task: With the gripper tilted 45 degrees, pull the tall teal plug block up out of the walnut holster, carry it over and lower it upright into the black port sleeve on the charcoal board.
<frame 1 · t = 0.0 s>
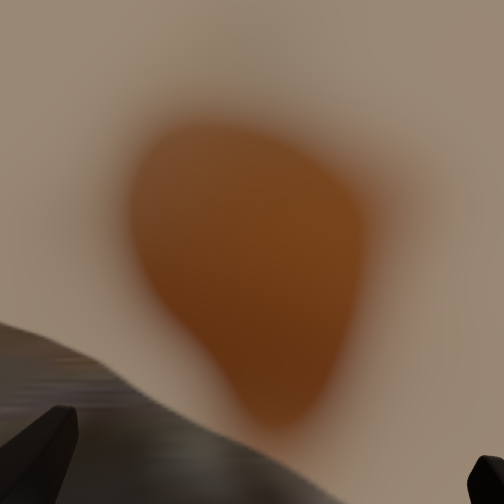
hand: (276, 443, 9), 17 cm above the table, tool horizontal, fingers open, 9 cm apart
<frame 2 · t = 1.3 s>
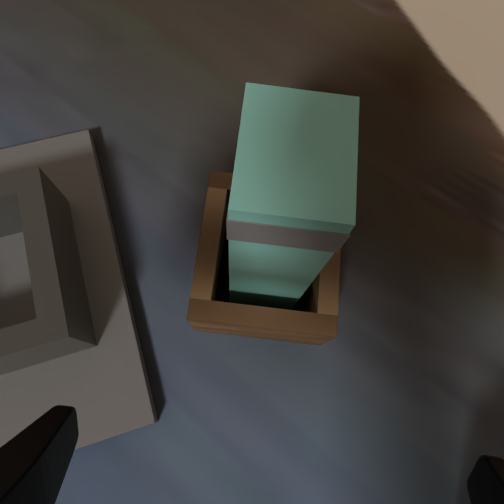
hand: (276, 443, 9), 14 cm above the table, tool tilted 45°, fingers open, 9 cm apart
holster: (264, 270, 24), on the table
port board: (17, 293, 23), on the table
plug: (275, 230, 18), in the holster
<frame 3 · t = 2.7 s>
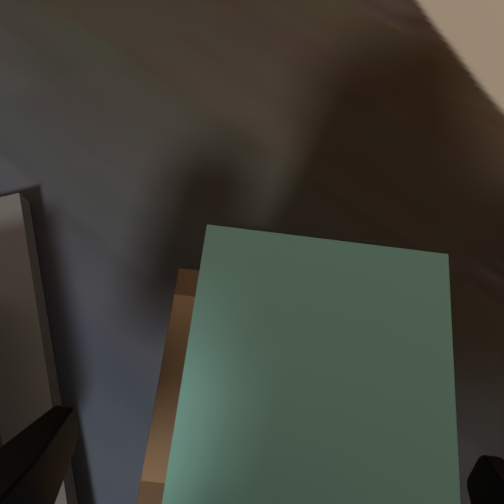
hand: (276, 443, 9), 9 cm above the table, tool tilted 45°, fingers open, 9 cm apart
holster: (257, 392, 18), on the table
plug: (271, 393, 11), in the holster
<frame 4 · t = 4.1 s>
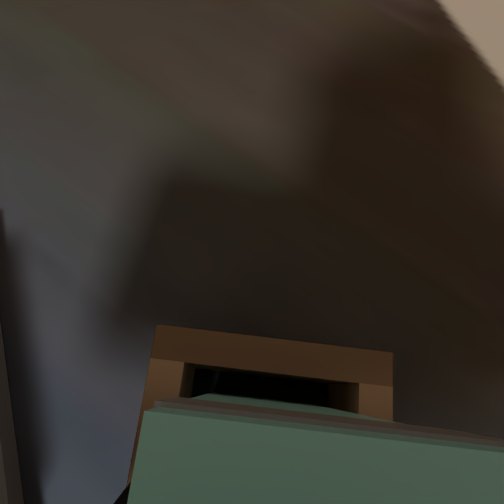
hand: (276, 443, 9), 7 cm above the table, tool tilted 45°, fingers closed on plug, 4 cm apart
holster: (253, 461, 15), on the table
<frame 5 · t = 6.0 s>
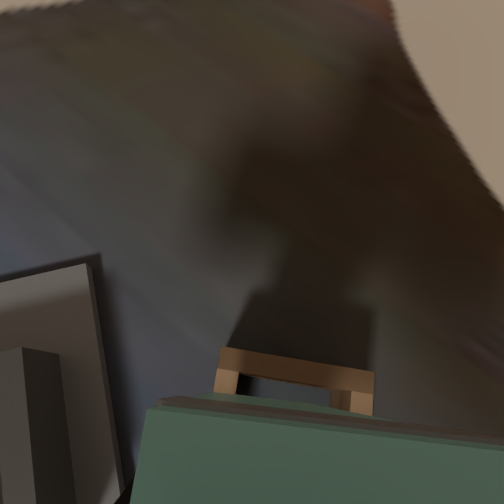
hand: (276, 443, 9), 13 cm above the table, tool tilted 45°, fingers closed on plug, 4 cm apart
holster: (276, 441, 21), on the table
when the fingers open (9 cm above the table, at t = 8.2 s): plug drops 1 cm, resting on port board.
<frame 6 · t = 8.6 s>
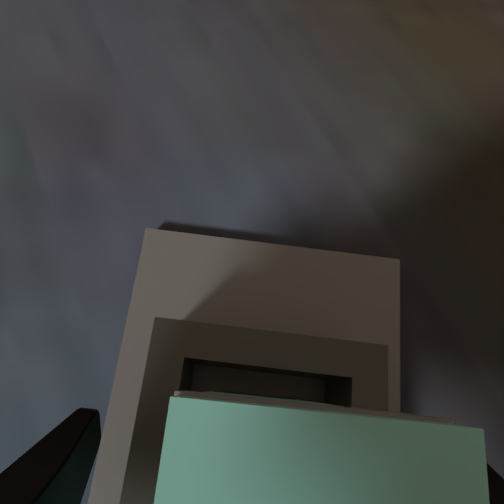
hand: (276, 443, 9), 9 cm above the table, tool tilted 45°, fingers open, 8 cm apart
port board: (250, 451, 17), on the table
plug: (265, 492, 10), in the port board, point 8 cm above the table
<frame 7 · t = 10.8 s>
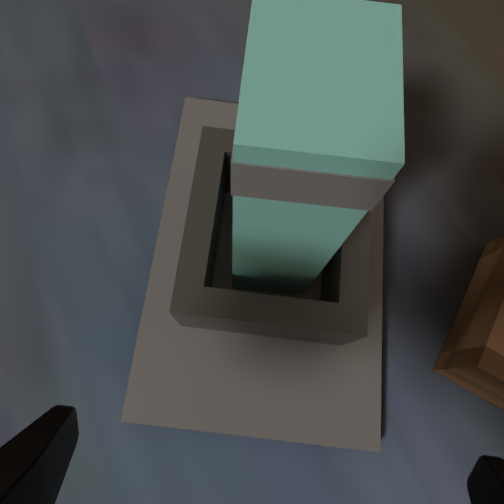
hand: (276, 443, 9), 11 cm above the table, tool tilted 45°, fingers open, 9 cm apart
port board: (268, 257, 22), on the table
plug: (286, 196, 15), in the port board, point 8 cm above the table
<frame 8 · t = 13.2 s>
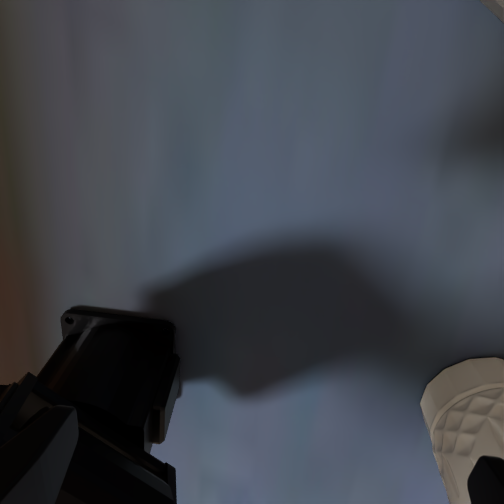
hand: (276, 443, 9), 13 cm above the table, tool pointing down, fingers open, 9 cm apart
white cup: (473, 395, 25), on the table
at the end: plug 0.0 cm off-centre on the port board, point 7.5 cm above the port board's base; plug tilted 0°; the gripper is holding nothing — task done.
